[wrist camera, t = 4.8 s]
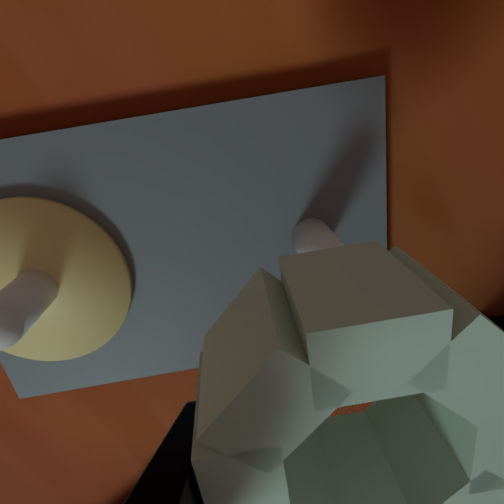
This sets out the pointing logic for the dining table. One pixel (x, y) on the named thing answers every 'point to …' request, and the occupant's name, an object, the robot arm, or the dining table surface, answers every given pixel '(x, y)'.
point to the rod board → (173, 225)
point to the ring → (350, 387)
